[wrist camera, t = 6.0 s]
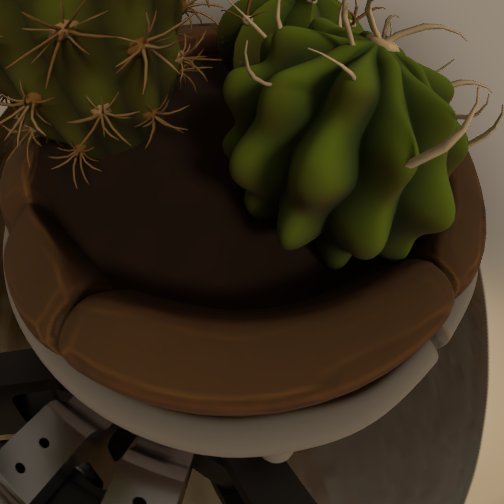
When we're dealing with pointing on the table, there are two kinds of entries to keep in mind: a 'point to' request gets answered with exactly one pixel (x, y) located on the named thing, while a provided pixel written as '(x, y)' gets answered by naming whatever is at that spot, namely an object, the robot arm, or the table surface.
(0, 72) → the flowerpot
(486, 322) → the table surface
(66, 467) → the robot arm
